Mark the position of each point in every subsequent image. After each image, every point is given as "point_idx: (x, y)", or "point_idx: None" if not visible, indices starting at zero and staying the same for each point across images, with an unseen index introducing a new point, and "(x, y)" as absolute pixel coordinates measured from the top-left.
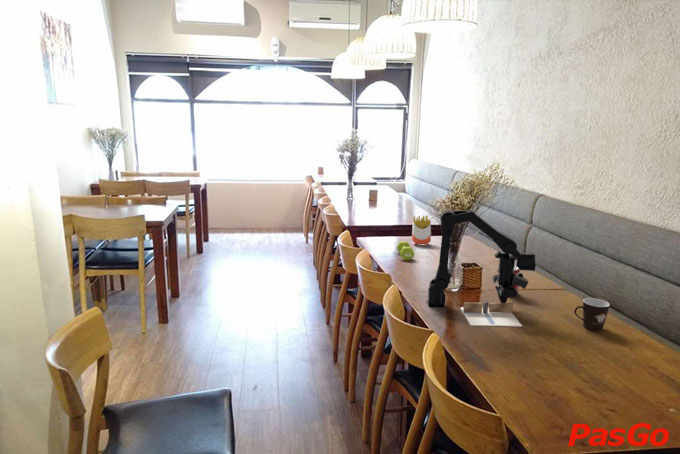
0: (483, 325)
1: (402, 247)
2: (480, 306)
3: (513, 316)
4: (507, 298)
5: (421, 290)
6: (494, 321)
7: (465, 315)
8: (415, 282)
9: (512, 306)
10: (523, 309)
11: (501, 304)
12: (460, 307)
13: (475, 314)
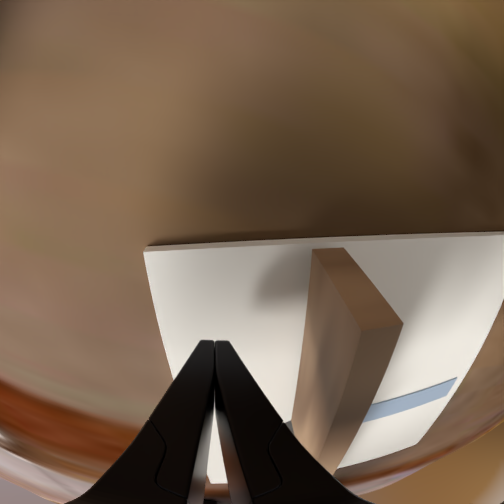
0: (438, 412)
1: None
2: None
3: (404, 249)
4: (299, 443)
5: (66, 492)
6: (432, 383)
7: None
8: (14, 475)
9: (380, 302)
10: (142, 37)
11: (353, 428)
12: (213, 482)
13: None
